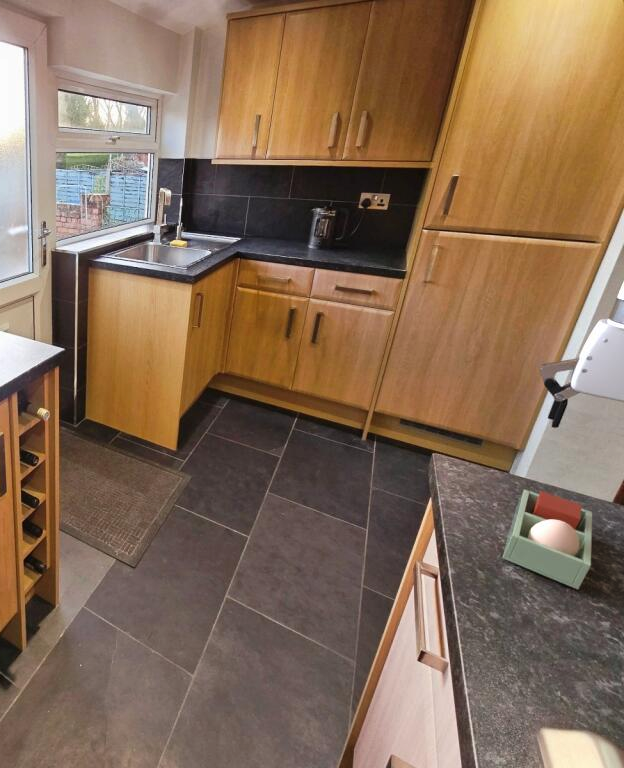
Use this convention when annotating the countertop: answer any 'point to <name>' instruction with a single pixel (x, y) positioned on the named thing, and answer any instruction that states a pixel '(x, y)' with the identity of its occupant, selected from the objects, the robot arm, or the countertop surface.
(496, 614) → the countertop surface
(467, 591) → the countertop surface
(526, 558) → the tray
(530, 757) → the countertop surface
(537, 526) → the egg
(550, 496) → the block
